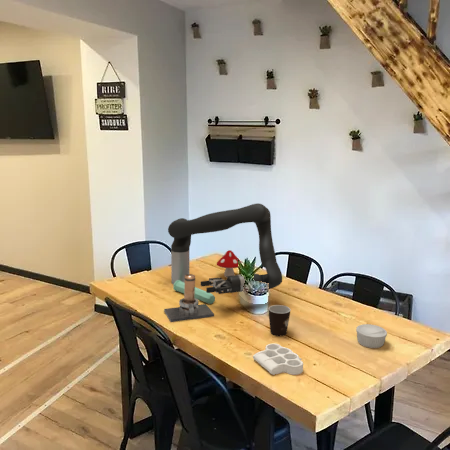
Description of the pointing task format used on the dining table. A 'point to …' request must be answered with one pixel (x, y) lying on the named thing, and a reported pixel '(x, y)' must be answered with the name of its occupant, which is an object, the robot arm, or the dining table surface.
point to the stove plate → (181, 317)
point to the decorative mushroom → (228, 263)
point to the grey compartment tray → (279, 360)
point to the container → (199, 293)
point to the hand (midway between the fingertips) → (203, 287)
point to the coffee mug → (279, 319)
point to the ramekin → (371, 335)
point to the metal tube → (189, 289)
